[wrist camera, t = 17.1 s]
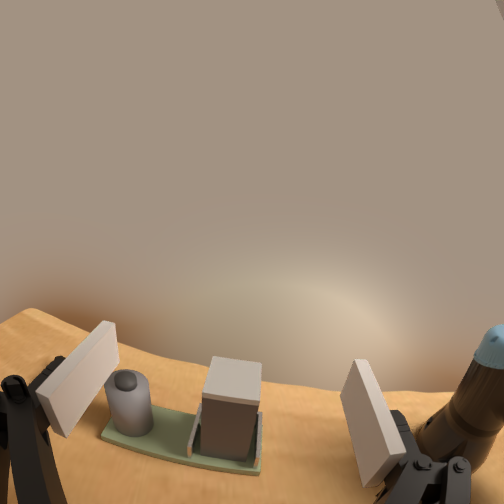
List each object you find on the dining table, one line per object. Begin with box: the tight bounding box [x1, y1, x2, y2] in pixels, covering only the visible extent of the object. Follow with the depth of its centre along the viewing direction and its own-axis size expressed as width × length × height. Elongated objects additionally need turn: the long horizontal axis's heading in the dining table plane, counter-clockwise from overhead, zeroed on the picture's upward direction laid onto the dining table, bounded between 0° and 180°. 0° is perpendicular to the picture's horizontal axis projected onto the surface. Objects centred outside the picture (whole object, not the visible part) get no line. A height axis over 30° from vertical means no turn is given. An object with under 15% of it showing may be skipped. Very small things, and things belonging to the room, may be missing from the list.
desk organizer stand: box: [101, 369, 263, 476], centre depth 33 cm, size 22×9×10 cm, turn 87°
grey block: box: [200, 356, 262, 462], centre depth 32 cm, size 6×7×13 cm
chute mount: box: [187, 403, 262, 469], centre depth 33 cm, size 9×8×3 cm
